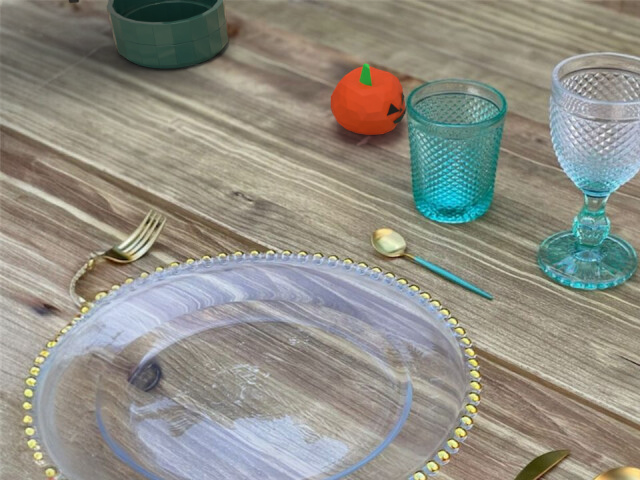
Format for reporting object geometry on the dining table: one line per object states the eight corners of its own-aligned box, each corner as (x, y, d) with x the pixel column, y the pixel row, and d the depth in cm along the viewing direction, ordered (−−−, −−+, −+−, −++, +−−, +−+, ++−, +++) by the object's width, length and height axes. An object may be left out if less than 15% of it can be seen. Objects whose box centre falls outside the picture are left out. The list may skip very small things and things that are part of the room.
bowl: (111, 73, 98) (100, 27, 95) (123, 24, 107) (113, -20, 103) (227, 68, 99) (221, 21, 96) (230, 19, 108) (224, -25, 104)
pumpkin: (400, 104, 94) (400, 41, 89) (410, 145, 88) (411, 80, 83) (329, 108, 93) (325, 45, 88) (334, 150, 87) (330, 85, 83)
